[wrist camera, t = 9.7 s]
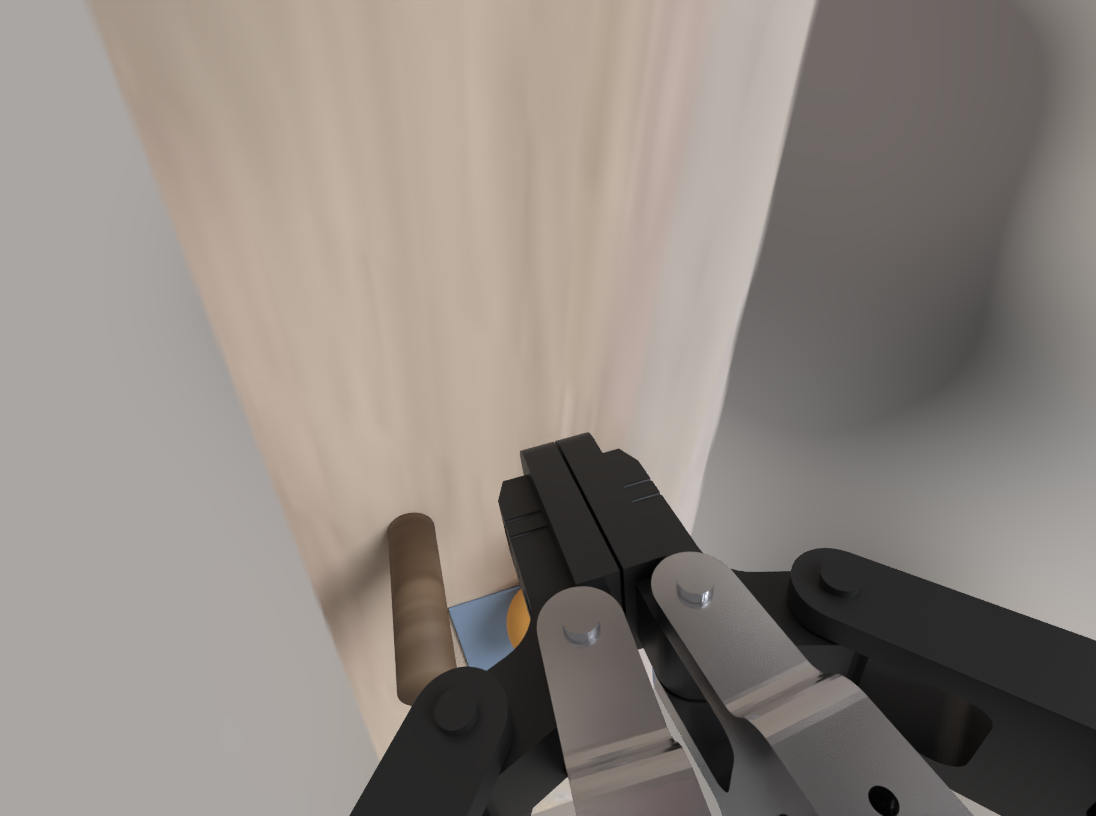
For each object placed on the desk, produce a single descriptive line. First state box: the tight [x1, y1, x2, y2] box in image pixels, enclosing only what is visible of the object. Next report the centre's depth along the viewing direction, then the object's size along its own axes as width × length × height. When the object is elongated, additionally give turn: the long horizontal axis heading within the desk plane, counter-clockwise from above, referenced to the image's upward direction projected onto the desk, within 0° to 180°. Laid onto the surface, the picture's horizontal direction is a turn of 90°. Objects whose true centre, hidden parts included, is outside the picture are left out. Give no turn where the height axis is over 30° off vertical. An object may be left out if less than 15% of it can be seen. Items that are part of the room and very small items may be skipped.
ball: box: [507, 589, 530, 649], centre depth 32 cm, size 5×5×5 cm
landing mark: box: [449, 586, 521, 671], centre depth 38 cm, size 14×10×1 cm
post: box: [388, 513, 457, 706], centre depth 25 cm, size 2×2×9 cm
